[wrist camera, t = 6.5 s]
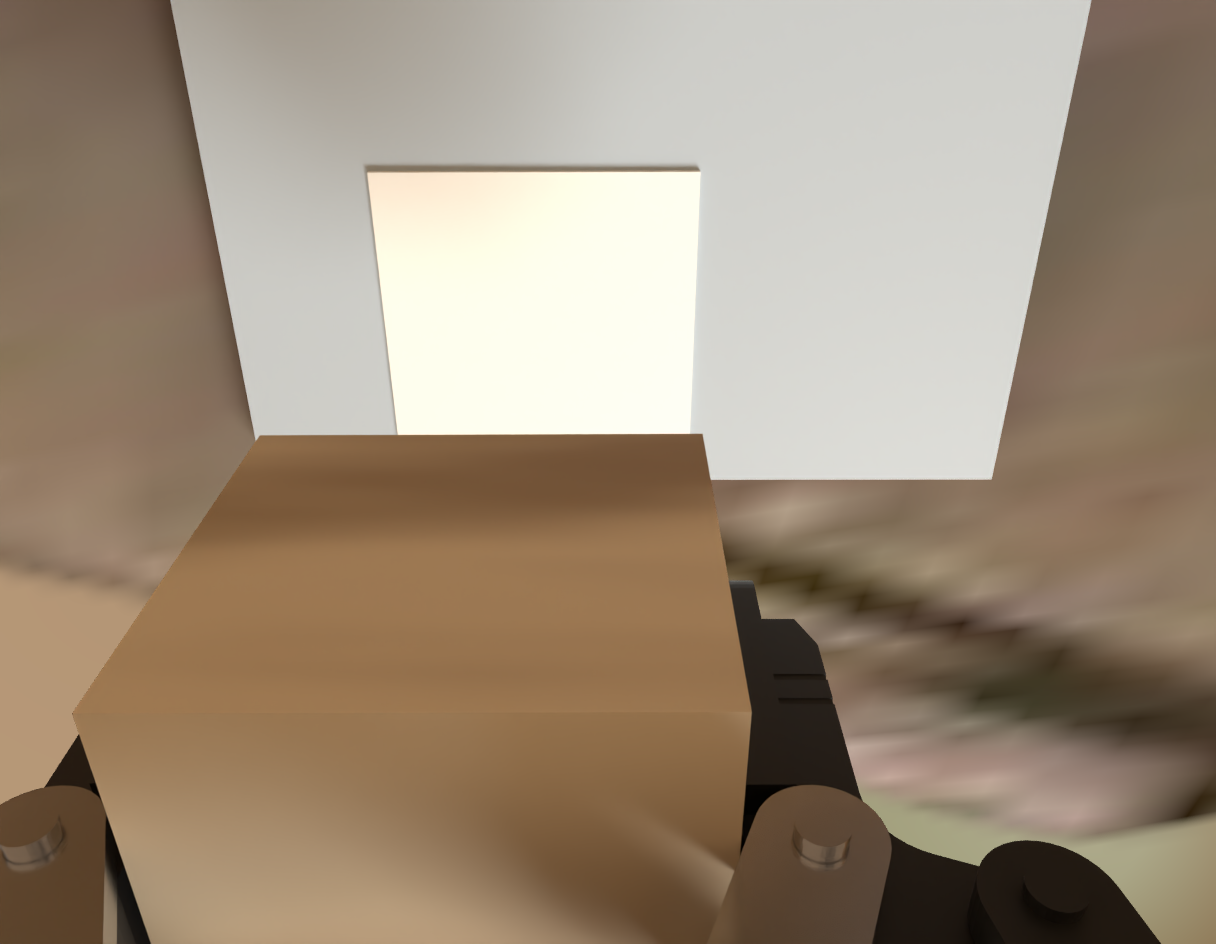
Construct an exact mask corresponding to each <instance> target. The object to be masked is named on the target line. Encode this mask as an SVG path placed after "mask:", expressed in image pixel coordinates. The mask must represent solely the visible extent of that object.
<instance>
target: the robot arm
mask: <svg viewBox="0 0 1216 944" xmlns="http://www.w3.org/2000/svg"><path fill="white" fill-rule="evenodd" d="M729 586H730V591H731V597H732V603H733V608H734V614H735V620H736V625H737V631H738V637H739V642H740V648H741V654H742V659H743V665H744V671H745V676H746V682H747V688H748V693H749V699H750V705H751V710H752V716H751V728H750V740H749V752H748V764H747V776H746V788H745V800H744V812H743V824H742V836H741V848H740V858H739V860H738V863H737V866H736V868H735V871H734V874H733V876H732V879H731V881H730V884H729V887H728V889H727V892H726V895H725V897H724V900H723V902H722V905H721V908H720V910H719V913H718V916H717V918H716V921H715V923H714V926H713V929H712V931H711V934H710V937H709V939H708V942H707V944H1161V943H1160V942H1159V940H1158V939H1157V938H1156V936H1155V935H1154V934H1153V932H1152V931H1151V930H1150V928H1149V927H1148V926H1147V925H1146V923H1145V922H1144V920H1143V919H1142V918H1141V917H1140V915H1139V914H1138V913H1137V911H1136V910H1135V909H1134V907H1133V906H1132V905H1131V903H1130V902H1129V900H1128V899H1127V898H1126V897H1125V895H1124V894H1123V893H1122V891H1121V890H1120V889H1119V887H1118V886H1117V885H1116V884H1115V883H1114V881H1113V880H1112V879H1111V878H1110V877H1109V876H1108V875H1107V874H1106V873H1105V872H1104V871H1103V870H1101V869H1100V868H1099V867H1098V866H1096V865H1095V864H1093V863H1092V862H1091V861H1089V860H1088V859H1086V858H1084V857H1083V856H1081V855H1079V854H1077V853H1075V852H1073V851H1071V850H1068V849H1066V848H1064V847H1061V846H1057V845H1054V844H1051V843H1046V842H1040V841H1027V840H1025V841H1014V842H1010V843H1006V844H1003V845H1001V846H999V847H996V848H994V849H993V850H992V851H991V852H990V853H988V854H987V855H986V856H985V858H984V859H983V860H982V862H981V864H980V866H976V865H972V864H968V863H965V862H961V861H957V860H953V859H950V858H946V857H942V856H938V855H935V854H932V853H928V852H925V851H922V850H920V849H917V848H915V847H913V846H911V845H908V844H906V843H905V842H903V841H901V840H899V839H898V838H896V837H894V836H893V835H892V834H891V833H889V832H888V830H887V828H886V826H885V825H884V823H883V821H882V820H881V818H880V817H879V816H878V815H877V814H876V812H875V811H874V810H873V809H871V808H870V807H869V806H868V805H867V804H866V803H864V802H863V801H862V798H861V796H860V793H859V790H858V786H857V783H856V779H855V776H854V772H853V768H852V765H851V761H850V758H849V754H848V751H847V747H846V744H845V740H844V737H843V733H842V730H841V726H840V722H839V719H838V715H837V712H836V708H835V705H834V704H833V701H832V699H833V698H832V694H831V691H830V687H829V684H828V680H826V673H825V669H824V666H823V662H822V659H821V655H820V652H819V648H818V645H817V644H816V642H815V641H814V640H813V639H812V638H811V637H810V636H809V635H808V634H807V633H806V632H805V630H804V629H803V628H802V627H801V626H800V625H799V624H798V623H797V622H796V621H795V620H794V619H761V615H760V610H759V606H758V601H757V596H756V592H755V587H754V584H753V581H729ZM0 944H151V942H150V939H149V936H148V933H147V931H146V928H145V925H144V922H143V919H142V916H141V913H140V910H139V907H138V904H137V901H136V898H135V896H134V893H133V890H132V887H131V884H130V881H129V878H128V875H127V872H126V869H125V866H124V863H123V861H122V858H121V855H120V852H119V849H118V846H117V843H116V840H115V837H114V834H113V831H112V828H111V826H110V823H109V820H108V817H107V814H106V811H105V808H104V805H103V802H102V799H101V796H100V794H99V791H98V788H97V785H96V782H95V779H94V776H93V773H92V770H91V767H90V764H89V761H88V759H87V756H86V753H85V750H84V747H83V744H82V741H81V738H80V735H78V736H77V738H76V740H75V741H74V743H73V744H72V746H71V747H70V749H69V750H68V752H67V754H66V755H65V757H64V758H63V760H62V761H61V763H60V764H59V766H58V767H57V769H56V771H55V772H54V773H53V775H52V776H51V778H50V780H49V781H48V783H47V784H46V786H45V787H44V788H40V789H36V790H33V791H30V792H27V793H23V794H21V795H19V796H17V797H14V798H12V799H10V800H8V801H6V802H4V803H3V804H1V805H0Z"/></svg>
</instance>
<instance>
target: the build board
mask: <svg viewBox="0 0 1216 944" xmlns="http://www.w3.org/2000/svg"><path fill="white" fill-rule="evenodd" d="M170 1H171V6H172V11H173V17H174V22H175V27H176V32H177V37H178V42H179V47H180V53H181V58H182V63H183V68H184V73H185V78H186V84H187V89H188V94H189V99H190V104H191V109H192V114H193V120H194V125H195V130H196V135H197V140H198V145H199V151H200V156H201V161H202V166H203V171H204V176H205V181H206V187H207V192H208V197H209V202H210V207H211V212H212V218H213V223H214V228H215V233H216V238H217V243H218V249H219V254H220V259H221V264H222V269H223V274H224V279H225V285H226V290H227V295H228V300H229V305H230V310H231V316H232V321H233V326H234V331H235V336H236V341H237V346H238V352H239V357H240V362H241V367H242V372H243V377H244V383H245V388H246V393H247V398H248V403H249V408H250V413H251V419H252V424H253V429H254V434H255V439H256V440H257V439H258V437H259V436H260V435H475V434H703V439H704V444H705V450H706V456H707V461H708V467H709V473H710V478H711V480H744V479H992V475H993V470H994V465H995V460H996V456H997V451H998V446H999V441H1000V436H1001V432H1002V427H1003V422H1004V417H1005V412H1006V408H1007V403H1008V398H1009V393H1010V388H1011V384H1012V379H1013V374H1014V369H1015V364H1016V360H1017V355H1018V350H1019V345H1020V340H1021V336H1022V331H1023V326H1024V321H1025V316H1026V312H1027V307H1028V302H1029V297H1030V292H1031V288H1032V283H1033V278H1034V273H1035V269H1036V264H1037V259H1038V254H1039V249H1040V245H1041V240H1042V235H1043V230H1044V225H1045V221H1046V216H1047V211H1048V206H1049V201H1050V197H1051V192H1052V187H1053V182H1054V177H1055V173H1056V168H1057V163H1058V158H1059V153H1060V149H1061V144H1062V139H1063V134H1064V129H1065V125H1066V120H1067V115H1068V110H1069V105H1070V101H1071V96H1072V91H1073V86H1074V81H1075V77H1076V72H1077V67H1078V62H1079V57H1080V53H1081V48H1082V43H1083V38H1084V33H1085V29H1086V24H1087V19H1088V14H1089V9H1090V5H1091V0H170Z"/></svg>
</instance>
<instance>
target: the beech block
mask: <svg viewBox="0 0 1216 944" xmlns="http://www.w3.org/2000/svg"><path fill="white" fill-rule="evenodd" d="M72 715H73V718H74V721H75V724H76V726H77V729H78V732H79V735H80V738H81V741H82V744H83V747H84V750H85V753H86V756H87V759H88V761H89V764H90V767H91V770H92V773H93V776H94V779H95V782H96V785H97V788H98V791H99V794H100V796H101V799H102V802H103V805H104V808H105V811H106V814H107V817H108V820H109V823H110V826H111V828H112V831H113V834H114V837H115V840H116V843H117V846H118V849H119V852H120V855H121V858H122V861H123V863H124V866H125V869H126V872H127V875H128V878H129V881H130V884H131V887H132V890H133V893H134V896H135V898H136V901H137V904H138V907H139V910H140V913H141V916H142V919H143V922H144V925H145V928H146V931H147V933H148V936H149V939H150V942H151V944H707V942H708V939H709V937H710V934H711V931H712V929H713V926H714V923H715V921H716V918H717V916H718V913H719V910H720V908H721V905H722V902H723V900H724V897H725V895H726V892H727V889H728V887H729V884H730V881H731V879H732V876H733V874H734V871H735V868H736V866H737V863H738V860H739V858H740V848H741V836H742V824H743V812H744V800H745V788H746V776H747V764H748V752H749V740H750V728H751V716H752V710H751V705H750V699H749V693H748V688H747V682H746V676H745V671H744V665H743V659H742V654H741V648H740V642H739V637H738V631H737V625H736V620H735V614H734V608H733V603H732V597H731V591H730V586H729V580H728V574H727V569H726V563H725V557H724V552H723V546H722V540H721V535H720V529H719V524H718V518H717V512H716V507H715V501H714V495H713V490H712V484H711V478H710V473H709V467H708V461H707V456H706V450H705V444H704V439H703V434H475V435H260V436H259V437H258V439H257V440H256V442H255V443H254V445H253V446H252V448H251V449H250V451H249V452H248V454H247V455H246V457H245V458H244V460H243V461H242V462H241V464H240V465H239V467H238V468H237V470H236V471H235V473H234V474H233V476H232V477H231V479H230V480H229V482H228V483H227V485H226V486H225V488H224V489H223V491H222V492H221V494H220V495H219V497H218V498H217V500H216V501H215V502H214V504H213V505H212V507H211V508H210V510H209V511H208V513H207V514H206V516H205V517H204V519H203V520H202V522H201V523H200V525H199V526H198V528H197V529H196V531H195V532H194V534H193V535H192V537H191V538H190V540H189V541H188V542H187V544H186V545H185V547H184V548H183V550H182V551H181V553H180V554H179V556H178V557H177V559H176V560H175V562H174V563H173V565H172V566H171V568H170V569H169V571H168V572H167V574H166V575H165V577H164V578H163V580H162V581H161V582H160V584H159V585H158V587H157V588H156V590H155V591H154V593H153V594H152V596H151V597H150V599H149V600H148V602H147V603H146V605H145V606H144V608H143V609H142V611H141V612H140V614H139V615H138V617H137V618H136V620H135V621H134V623H133V624H132V625H131V627H130V629H129V630H128V632H127V633H126V634H125V636H124V638H123V639H122V640H121V642H120V643H119V645H118V646H117V648H116V649H115V651H114V652H113V654H112V655H111V657H110V658H109V660H108V661H107V663H106V664H105V666H104V667H103V668H102V670H101V671H100V673H99V674H98V676H97V677H96V679H95V680H94V682H93V683H92V685H91V686H90V688H89V689H88V691H87V692H86V694H85V695H84V697H83V698H82V700H81V701H80V703H79V704H78V705H77V707H76V708H75V710H74V711H73V713H72Z"/></svg>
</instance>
